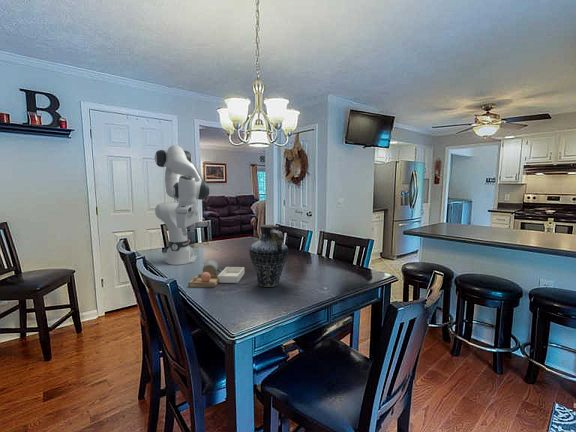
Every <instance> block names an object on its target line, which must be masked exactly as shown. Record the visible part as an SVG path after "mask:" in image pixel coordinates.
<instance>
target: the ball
mask: <svg viewBox="0 0 576 432" xmlns="http://www.w3.org/2000/svg"><path fill="white" fill-rule="evenodd" d="M200 275H201V280H202V281H203V282H208V281H209V280H210V279H211V275H210V273H208V272H204V273H203V272H202V273H201V274H200Z"/></svg>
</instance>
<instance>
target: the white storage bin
mask: <svg viewBox="0 0 576 432" xmlns="http://www.w3.org/2000/svg"><path fill="white" fill-rule="evenodd" d="M219 273H220V272H219ZM244 275H245V267H243V266H242V267H241V266H226V267H225V268H224V269H223V270H222V272H221V273H220V274H219V275H218V276H217V278H219V283H218V284H220V283H221V284H223V283H224V284H225V283H226V284H227V283H228V284H238V283H239V282H240V280H241V279H242V277H243V276H244Z"/></svg>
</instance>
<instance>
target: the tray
mask: <svg viewBox="0 0 576 432" xmlns="http://www.w3.org/2000/svg"><path fill="white" fill-rule="evenodd" d="M201 275H202V274H196V275H195V277H194V278H192V279H191V280H190V281H189V282H187V283H188V288H211V287H212V288H213V289H214V288H216V286H217V285H218V284H220V283H219V278H217V276H218V275H217V274H214V275H211V279H210V280H209V281H208V282H203V281H202V280H201Z"/></svg>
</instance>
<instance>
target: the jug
mask: <svg viewBox="0 0 576 432" xmlns="http://www.w3.org/2000/svg"><path fill="white" fill-rule="evenodd" d="M259 227H260V232H261V237H260V239H258V240H257V241H255V242H254V243H252V244H251V245H250V247H249V250H248V253H249V257H250V260H251V263H252V266H253V268H254V271H255V273H256V281H257V284H258V286H260V287H269V288H271V287H272V288H273V287H276V286H278V285H280V284H279V283H280V279H281V276H282V273H283V270H284V267H285V265H286V262H287V260H288V256H289V248H288V246H287V245H286V244H285V243H284V240H285V239H284V238H285V237H284V234H283V232H282V231H279V227H280V226H279V225H277V224H263V225H260V226H259Z"/></svg>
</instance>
